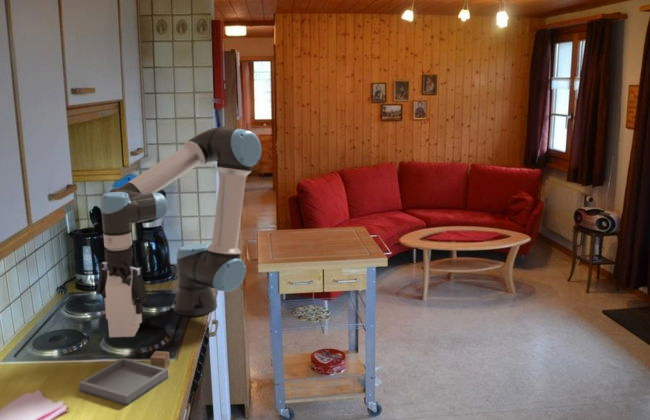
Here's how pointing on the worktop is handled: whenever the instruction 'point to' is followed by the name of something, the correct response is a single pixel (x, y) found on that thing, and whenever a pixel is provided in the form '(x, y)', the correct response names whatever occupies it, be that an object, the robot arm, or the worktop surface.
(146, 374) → the tray
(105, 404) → the worktop surface
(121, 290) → the milk carton
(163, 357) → the walnut block
